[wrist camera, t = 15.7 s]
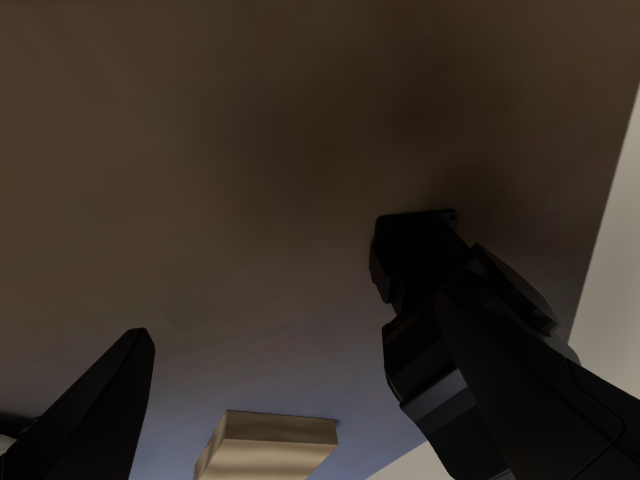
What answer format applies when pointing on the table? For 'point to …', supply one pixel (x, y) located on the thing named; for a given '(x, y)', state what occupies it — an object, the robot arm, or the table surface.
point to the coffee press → (12, 437)
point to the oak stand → (265, 447)
